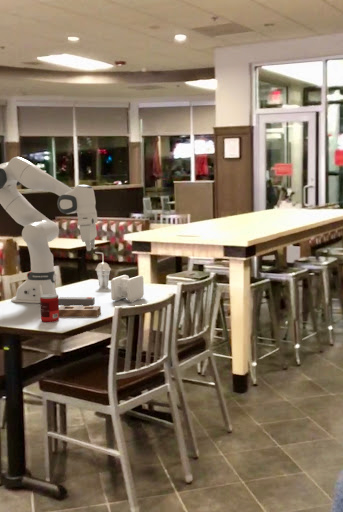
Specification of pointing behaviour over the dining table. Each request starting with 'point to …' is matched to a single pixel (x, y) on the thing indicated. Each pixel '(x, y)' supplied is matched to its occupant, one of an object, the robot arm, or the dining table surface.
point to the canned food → (49, 307)
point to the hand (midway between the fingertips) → (90, 249)
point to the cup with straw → (103, 272)
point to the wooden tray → (80, 311)
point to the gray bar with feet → (77, 301)
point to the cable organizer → (127, 288)
